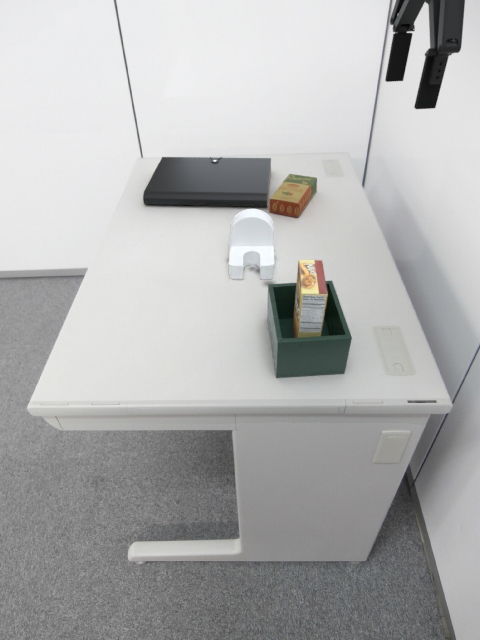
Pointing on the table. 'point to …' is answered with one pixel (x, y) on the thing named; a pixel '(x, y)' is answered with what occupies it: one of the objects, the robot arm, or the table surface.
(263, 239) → the white plastic bracket
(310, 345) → the open storage box
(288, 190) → the carton
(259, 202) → the file folder
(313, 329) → the candy box
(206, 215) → the table surface
